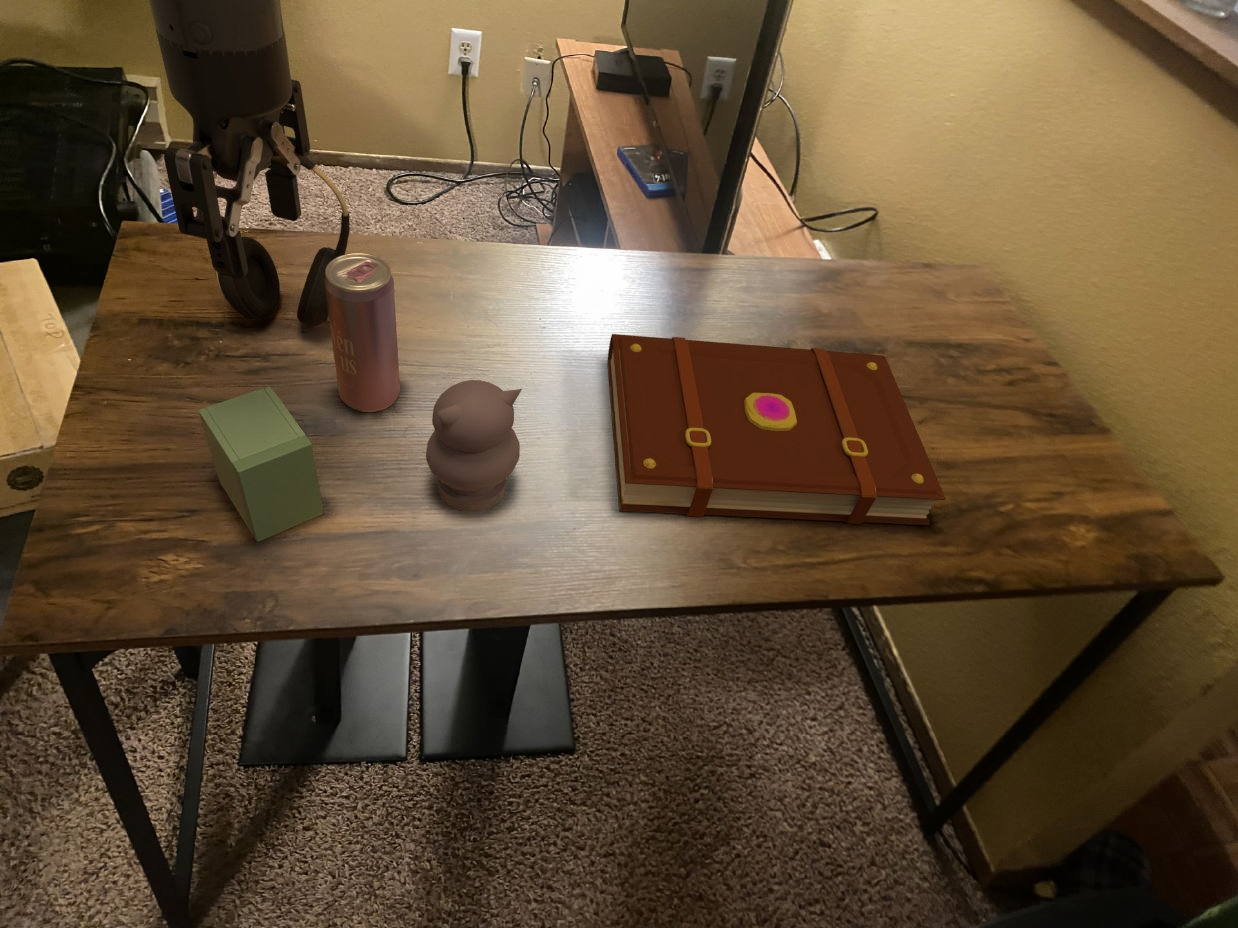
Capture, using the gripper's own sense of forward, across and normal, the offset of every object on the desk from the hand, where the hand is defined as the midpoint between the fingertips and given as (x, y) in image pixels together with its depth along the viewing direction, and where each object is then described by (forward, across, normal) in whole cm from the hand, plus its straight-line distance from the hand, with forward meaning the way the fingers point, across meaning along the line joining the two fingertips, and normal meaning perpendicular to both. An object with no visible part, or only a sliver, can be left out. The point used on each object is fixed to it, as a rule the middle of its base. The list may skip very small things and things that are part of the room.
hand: (260, 244), depth 64 cm
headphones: (+21, -17, -9) cm, 29 cm away
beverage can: (+22, -8, +4) cm, 23 cm away
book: (+21, -16, +44) cm, 51 cm away
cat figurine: (+22, 0, +18) cm, 28 cm away
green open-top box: (+21, +7, +1) cm, 23 cm away
